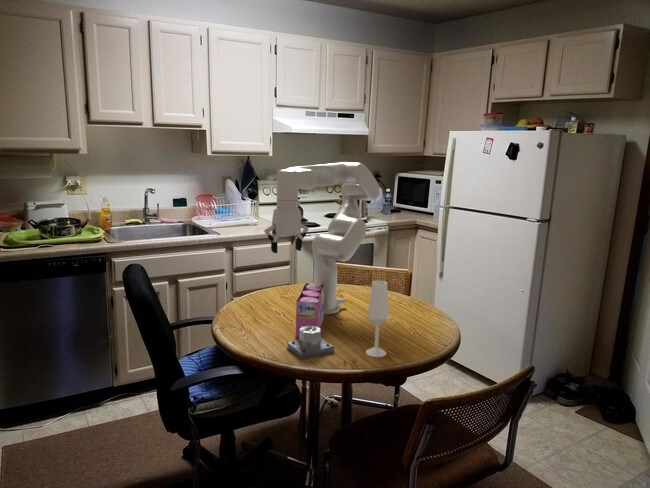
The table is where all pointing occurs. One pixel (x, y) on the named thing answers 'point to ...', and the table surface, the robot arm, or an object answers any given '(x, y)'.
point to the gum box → (310, 307)
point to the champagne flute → (378, 313)
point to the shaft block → (310, 352)
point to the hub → (310, 336)
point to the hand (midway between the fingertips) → (286, 251)
